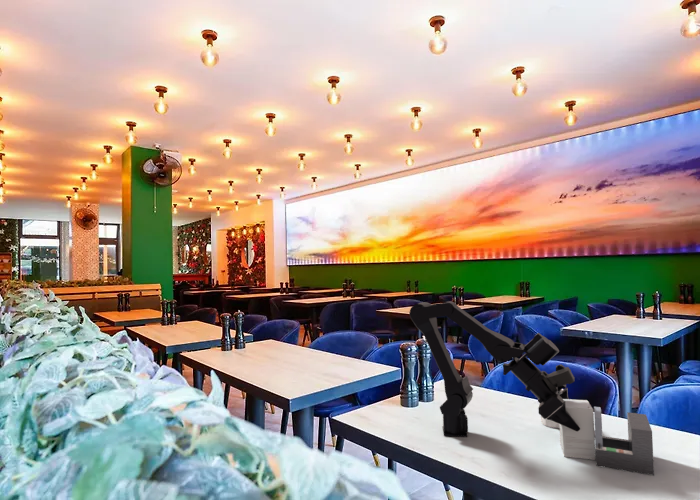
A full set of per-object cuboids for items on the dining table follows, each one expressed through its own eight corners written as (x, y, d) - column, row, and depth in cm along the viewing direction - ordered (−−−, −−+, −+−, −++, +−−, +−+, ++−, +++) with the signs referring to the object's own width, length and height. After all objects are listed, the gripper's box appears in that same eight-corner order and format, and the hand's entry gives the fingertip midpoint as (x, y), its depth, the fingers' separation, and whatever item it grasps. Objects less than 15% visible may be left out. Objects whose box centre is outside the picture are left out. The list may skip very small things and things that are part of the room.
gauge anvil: (596, 465, 105) (594, 423, 106) (595, 446, 116) (593, 408, 116) (654, 475, 100) (652, 431, 100) (647, 454, 111) (645, 414, 111)
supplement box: (590, 448, 115) (588, 399, 115) (596, 460, 108) (594, 409, 108) (559, 445, 118) (557, 397, 118) (563, 457, 111) (561, 406, 111)
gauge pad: (596, 461, 105) (594, 419, 106) (595, 445, 115) (594, 406, 115) (603, 462, 105) (601, 420, 105) (602, 446, 114) (600, 407, 114)
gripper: (550, 364, 108) (605, 416, 102) (555, 350, 124) (602, 394, 118) (518, 393, 111) (568, 444, 105) (527, 375, 127) (571, 419, 122)
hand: (579, 423), depth 113 cm, fingers open, 9 cm apart
